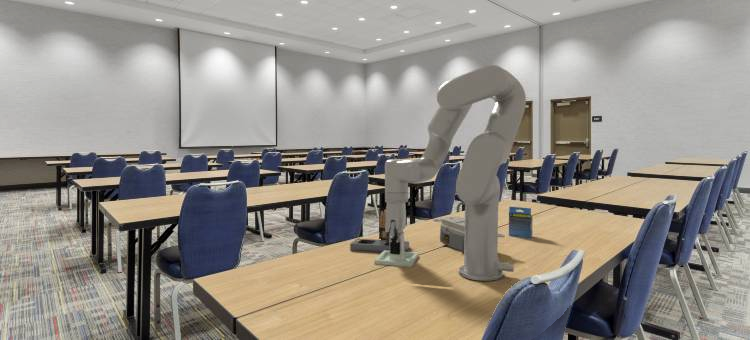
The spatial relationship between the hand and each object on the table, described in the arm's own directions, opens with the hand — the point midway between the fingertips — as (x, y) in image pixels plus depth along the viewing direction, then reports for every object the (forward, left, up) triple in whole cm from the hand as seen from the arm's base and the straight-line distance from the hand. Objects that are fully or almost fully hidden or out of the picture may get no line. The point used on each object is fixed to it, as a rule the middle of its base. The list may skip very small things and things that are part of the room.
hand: (396, 251), depth 134 cm
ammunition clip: (+9, -25, -4) cm, 27 cm away
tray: (0, 0, -3) cm, 3 cm away
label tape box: (-41, -47, -4) cm, 62 cm away
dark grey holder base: (+9, -15, -3) cm, 17 cm away
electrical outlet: (-21, -22, -4) cm, 31 cm away
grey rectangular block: (0, 0, -3) cm, 3 cm away
